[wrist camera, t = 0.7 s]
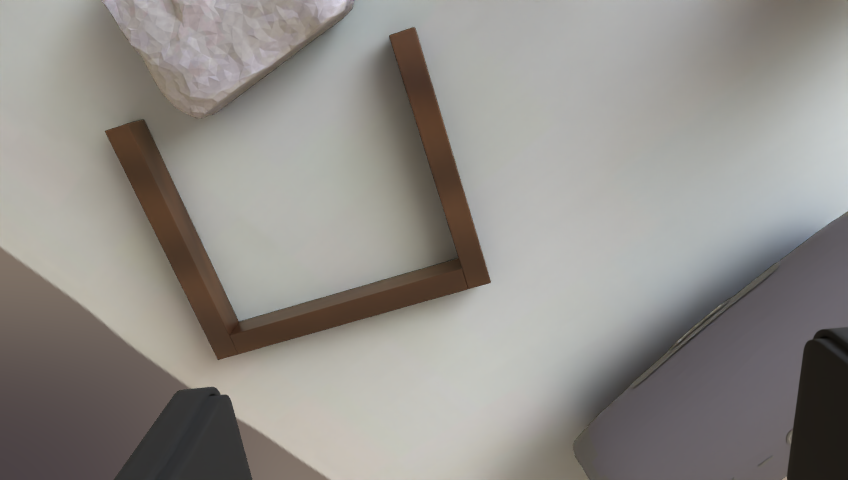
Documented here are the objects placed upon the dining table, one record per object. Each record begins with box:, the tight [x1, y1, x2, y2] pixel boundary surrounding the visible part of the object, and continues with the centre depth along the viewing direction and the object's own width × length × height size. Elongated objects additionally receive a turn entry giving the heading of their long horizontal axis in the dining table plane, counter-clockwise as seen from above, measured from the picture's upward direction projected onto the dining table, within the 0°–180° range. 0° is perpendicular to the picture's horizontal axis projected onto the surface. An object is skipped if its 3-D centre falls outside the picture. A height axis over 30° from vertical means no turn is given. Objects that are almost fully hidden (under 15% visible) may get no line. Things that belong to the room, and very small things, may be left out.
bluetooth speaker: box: [573, 212, 848, 480], centre depth 34 cm, size 23×9×10 cm, turn 138°
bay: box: [105, 27, 491, 360], centre depth 35 cm, size 16×19×2 cm
